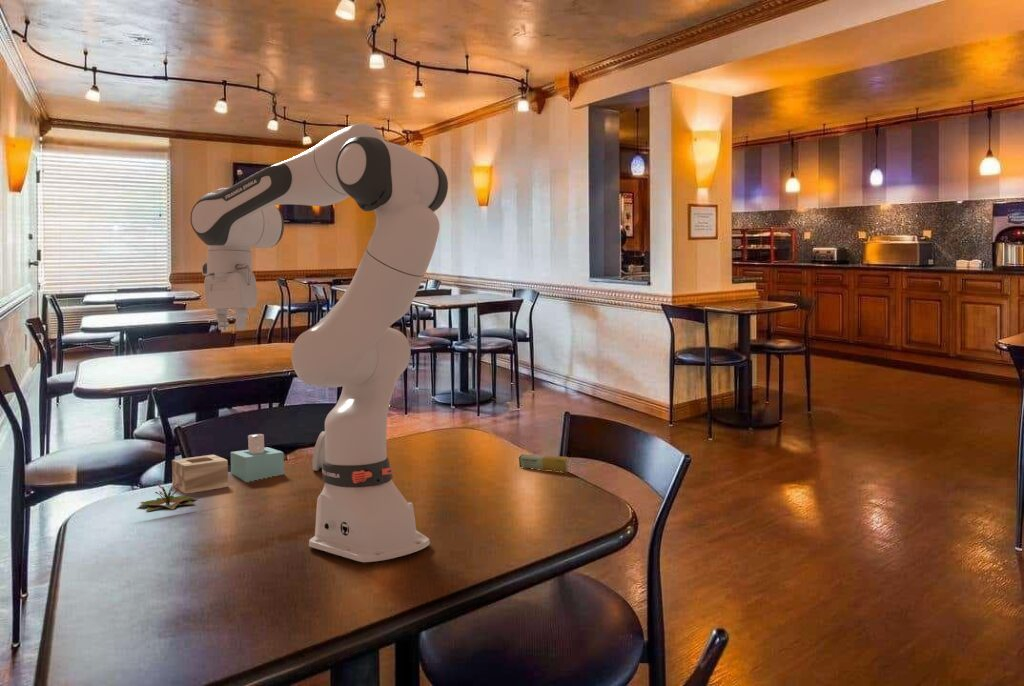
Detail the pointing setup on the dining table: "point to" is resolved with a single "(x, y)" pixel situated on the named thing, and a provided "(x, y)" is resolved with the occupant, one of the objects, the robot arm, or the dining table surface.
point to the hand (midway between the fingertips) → (231, 330)
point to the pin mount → (200, 473)
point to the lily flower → (167, 500)
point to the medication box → (544, 462)
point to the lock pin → (256, 444)
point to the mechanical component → (319, 452)
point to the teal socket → (257, 464)
